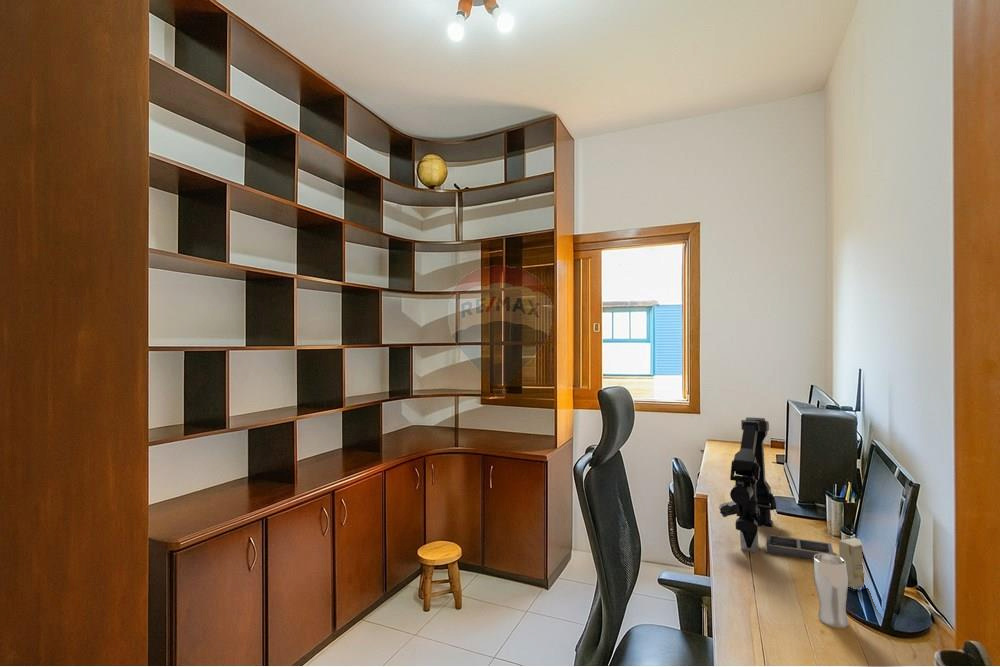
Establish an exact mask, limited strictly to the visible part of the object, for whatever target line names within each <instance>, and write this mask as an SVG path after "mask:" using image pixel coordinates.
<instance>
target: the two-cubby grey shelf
mask: <svg viewBox="0 0 1000 667" xmlns="http://www.w3.org/2000/svg"><path fill="white" fill-rule="evenodd" d="M765 543H766V554H772V555H779V556H785V557H791V558H797V559H802V560H810V561H814V555H815V554H820V553H824V554H831V555H834V550H833V546H832V543H830V542H822V541H816V540H809V539H808V540H807V539H801V538H796V537H789V536H781V535H774V534H767V533H766V542H765Z"/></svg>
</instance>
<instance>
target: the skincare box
mask: <svg viewBox="0 0 1000 667" xmlns="http://www.w3.org/2000/svg"><path fill="white" fill-rule="evenodd" d="M860 540H861V539H860V538H857V537H852V538H846V539H840V540H838V549H839V550H838V551H839V552H838V553H839V556H838V557H841V558H842V559H844V560H845V561H846V568H847V574H848V587H851V588H853V589H859V588H861V587H864V573H863V565H862V562H863V560H862V559H863V554H862V543H861V541H860Z"/></svg>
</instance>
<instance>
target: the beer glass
mask: <svg viewBox="0 0 1000 667" xmlns="http://www.w3.org/2000/svg"><path fill="white" fill-rule="evenodd" d="M824 553H825V552H824ZM824 553H820V554H815V555H814V560H813V567H812V568H813V569H812V570H813V572H812V573H813V581H814V585H815V588H816V589H815V590H816V593H817V597H818V604H819V609H818V615H817V616H818V617H817V618H818V620H819V621H820V622H821V623H822V624H823V625H826V626H828V627H831V628H834V629H835V628H836V629H845V628H848V627H849V624H850V623H849V620H848V616H847V610H846V605H847V597H848V589H849V588H848V574H847V568H846V561H845V560H844V559H842V558H841V557H840V556H837V555H831V554H824Z"/></svg>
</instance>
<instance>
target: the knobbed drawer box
mask: <svg viewBox="0 0 1000 667" xmlns="http://www.w3.org/2000/svg"><path fill="white" fill-rule="evenodd" d="M739 540H740V550H741V551H746V552H752V553H759V549H760V548H759V546H760V545H759V533H758V532H757V534H756V536H755V539H754V541H753V544H752V546H751V548H747V546H746V542H745V539H744V536H743V533H742V532H741V531H740V530H739Z"/></svg>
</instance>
